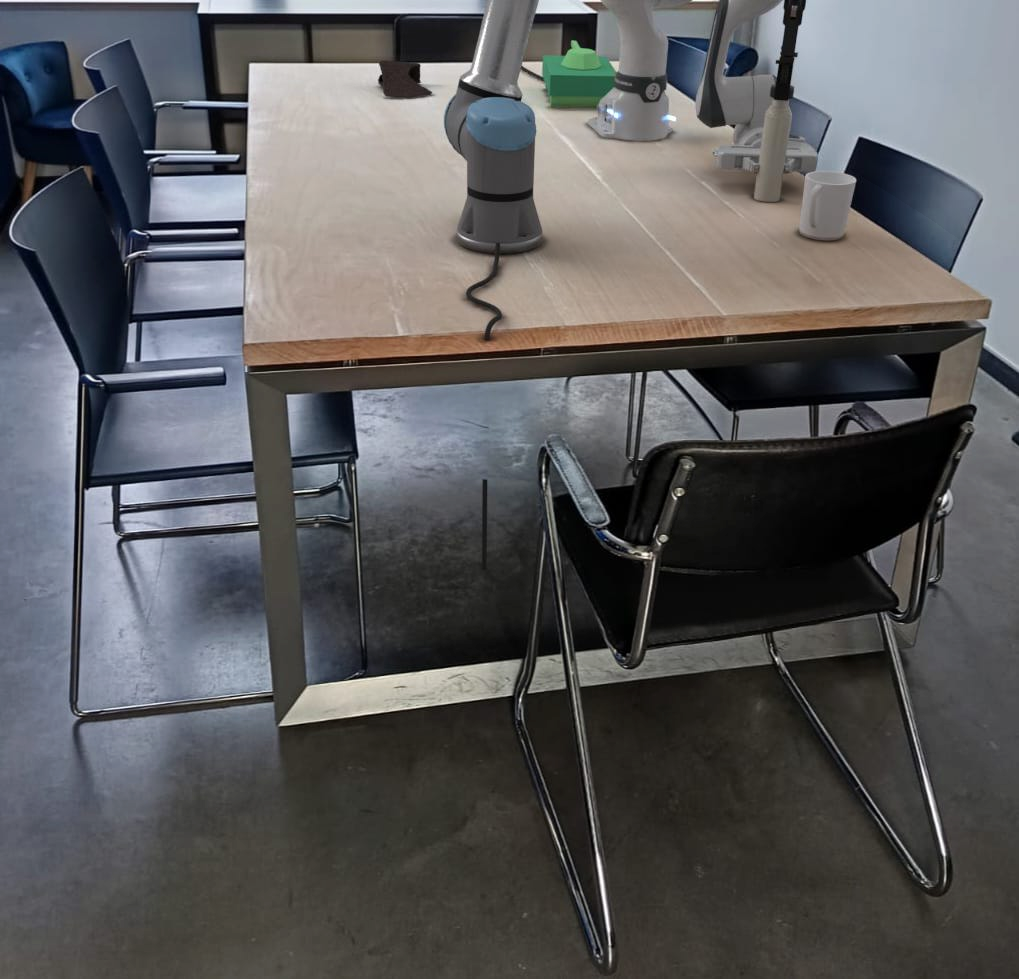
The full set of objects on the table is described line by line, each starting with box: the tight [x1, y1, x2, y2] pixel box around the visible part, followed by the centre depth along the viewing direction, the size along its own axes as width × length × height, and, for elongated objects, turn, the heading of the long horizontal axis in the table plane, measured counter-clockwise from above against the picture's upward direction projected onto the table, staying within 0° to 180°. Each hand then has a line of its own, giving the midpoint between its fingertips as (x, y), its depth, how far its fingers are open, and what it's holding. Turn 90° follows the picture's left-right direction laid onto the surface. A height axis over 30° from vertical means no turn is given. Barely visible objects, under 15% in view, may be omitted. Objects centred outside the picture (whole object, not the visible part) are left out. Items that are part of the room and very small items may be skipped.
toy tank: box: [541, 40, 617, 108], centre depth 296 cm, size 18×12×35 cm
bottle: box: [753, 98, 793, 203], centre depth 216 cm, size 5×5×21 cm
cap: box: [770, 84, 795, 100], centre depth 210 cm, size 4×4×2 cm
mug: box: [798, 170, 857, 241], centre depth 199 cm, size 11×9×10 cm
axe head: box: [377, 59, 433, 99], centre depth 299 cm, size 18×8×15 cm
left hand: (781, 96), depth 211 cm, fingers open, 6 cm apart
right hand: (772, 169), depth 217 cm, fingers closed on bottle, 5 cm apart
